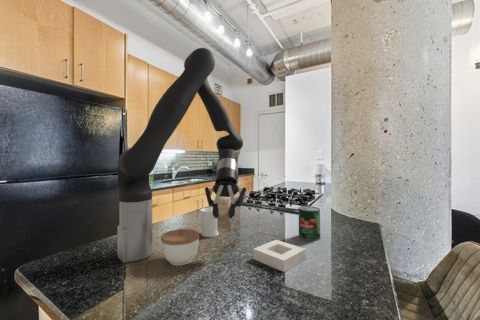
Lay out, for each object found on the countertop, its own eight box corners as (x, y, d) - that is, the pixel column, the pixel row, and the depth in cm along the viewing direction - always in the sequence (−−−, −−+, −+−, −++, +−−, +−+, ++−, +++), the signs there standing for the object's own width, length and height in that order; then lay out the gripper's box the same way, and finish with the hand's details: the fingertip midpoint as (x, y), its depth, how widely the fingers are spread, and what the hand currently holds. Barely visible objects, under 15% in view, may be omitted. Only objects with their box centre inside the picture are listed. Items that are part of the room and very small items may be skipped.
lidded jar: (159, 272, 59) (159, 236, 59) (162, 255, 69) (162, 225, 69) (201, 266, 61) (200, 232, 61) (197, 251, 72) (197, 222, 72)
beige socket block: (284, 272, 58) (284, 260, 58) (253, 258, 66) (253, 248, 66) (306, 259, 66) (306, 248, 66) (276, 248, 74) (275, 239, 74)
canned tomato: (317, 234, 88) (317, 206, 88) (323, 241, 80) (322, 210, 80) (297, 233, 89) (296, 206, 89) (300, 240, 81) (300, 210, 81)
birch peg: (223, 233, 65) (223, 198, 65) (214, 230, 68) (214, 197, 68) (233, 230, 68) (233, 197, 68) (224, 227, 70) (224, 195, 71)
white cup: (219, 238, 84) (218, 211, 84) (198, 238, 84) (198, 211, 85) (221, 231, 92) (221, 207, 92) (202, 231, 92) (202, 207, 92)
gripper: (205, 166, 75) (197, 209, 63) (247, 166, 75) (247, 210, 63) (208, 180, 81) (201, 223, 68) (247, 181, 80) (247, 223, 68)
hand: (223, 216), depth 66 cm, fingers closed on birch peg, 4 cm apart
